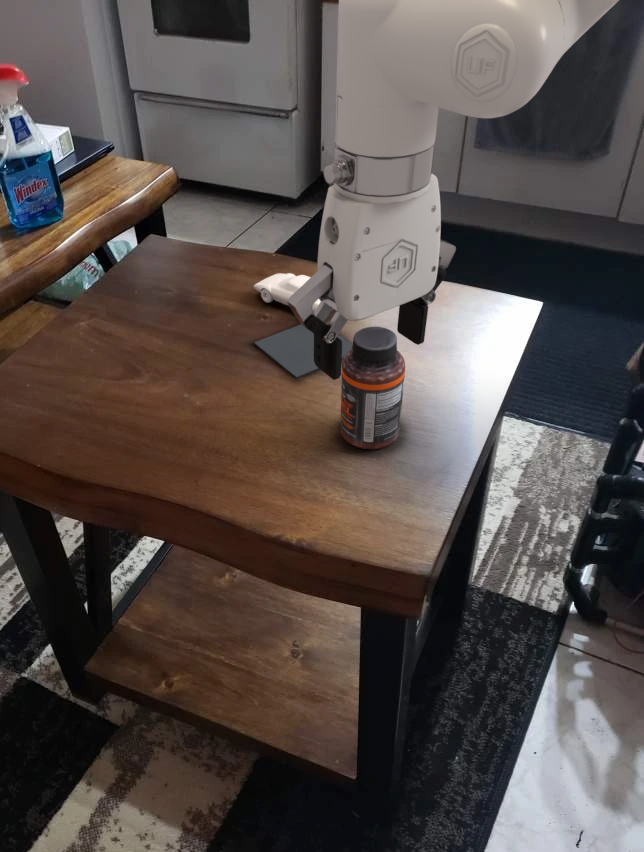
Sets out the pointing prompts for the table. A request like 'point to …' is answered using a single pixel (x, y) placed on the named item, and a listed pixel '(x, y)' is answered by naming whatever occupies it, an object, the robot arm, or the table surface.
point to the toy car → (282, 288)
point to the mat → (295, 350)
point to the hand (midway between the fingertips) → (369, 354)
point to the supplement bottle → (372, 389)
